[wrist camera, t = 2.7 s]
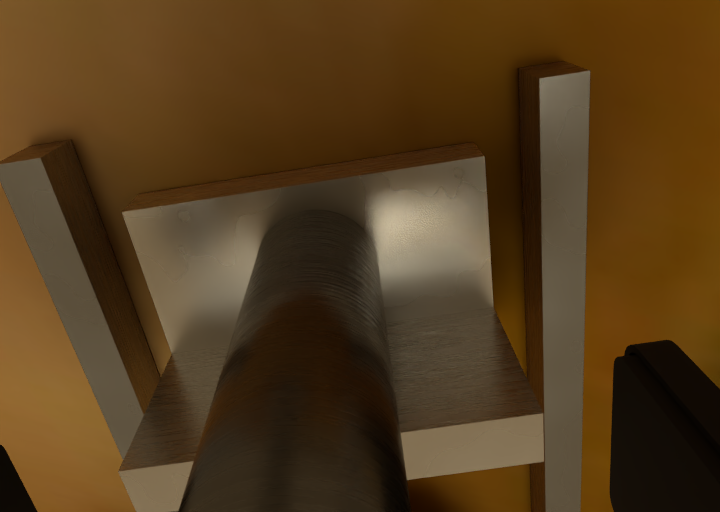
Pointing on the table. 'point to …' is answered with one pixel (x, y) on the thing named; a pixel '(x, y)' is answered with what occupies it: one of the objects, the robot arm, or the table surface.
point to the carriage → (325, 339)
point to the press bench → (541, 271)
